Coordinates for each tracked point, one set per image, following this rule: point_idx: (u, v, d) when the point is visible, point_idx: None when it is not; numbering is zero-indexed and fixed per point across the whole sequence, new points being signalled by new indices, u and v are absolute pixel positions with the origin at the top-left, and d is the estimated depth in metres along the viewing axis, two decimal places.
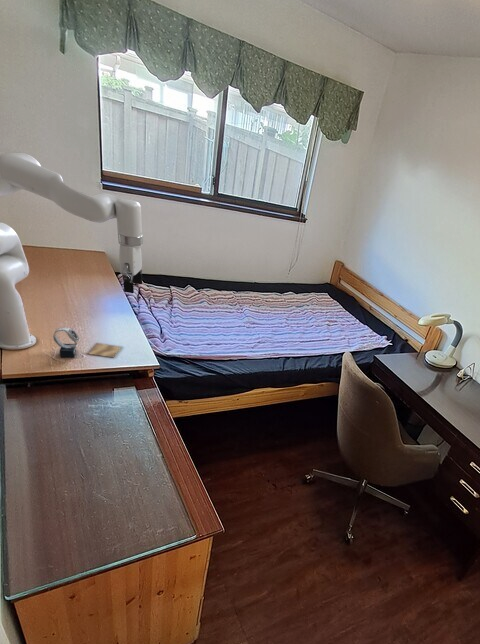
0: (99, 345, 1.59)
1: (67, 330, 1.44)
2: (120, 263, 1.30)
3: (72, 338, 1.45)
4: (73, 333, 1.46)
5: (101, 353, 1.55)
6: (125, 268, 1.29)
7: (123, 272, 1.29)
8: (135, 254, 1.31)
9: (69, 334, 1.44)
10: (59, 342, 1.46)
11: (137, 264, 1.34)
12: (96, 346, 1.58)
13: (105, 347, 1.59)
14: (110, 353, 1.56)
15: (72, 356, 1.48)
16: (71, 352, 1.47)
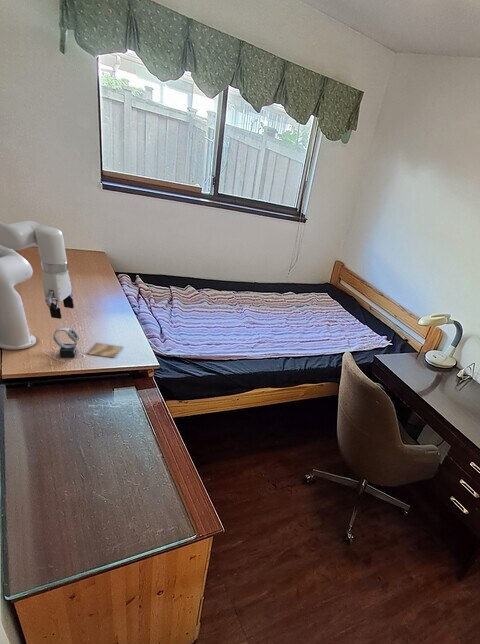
0: (99, 345, 1.59)
1: (67, 330, 1.44)
2: (44, 290, 1.30)
3: (72, 338, 1.45)
4: (73, 333, 1.46)
5: (101, 353, 1.55)
6: (49, 295, 1.30)
7: (46, 299, 1.29)
8: (60, 281, 1.31)
9: (69, 334, 1.44)
10: (59, 342, 1.46)
11: (63, 290, 1.34)
12: (96, 346, 1.58)
13: (105, 347, 1.59)
14: (110, 353, 1.56)
15: (72, 356, 1.48)
16: (71, 352, 1.47)
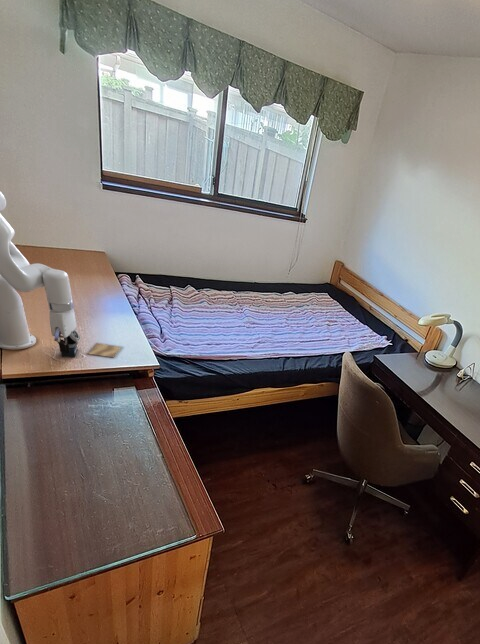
0: (99, 345, 1.59)
1: None
2: (51, 327, 1.38)
3: (73, 338, 1.45)
4: (74, 333, 1.47)
5: (101, 353, 1.55)
6: (57, 335, 1.39)
7: (55, 339, 1.39)
8: (65, 319, 1.39)
9: (70, 334, 1.44)
10: None
11: (69, 326, 1.42)
12: (96, 346, 1.58)
13: (105, 347, 1.59)
14: (110, 353, 1.56)
15: (73, 355, 1.49)
16: (72, 351, 1.48)
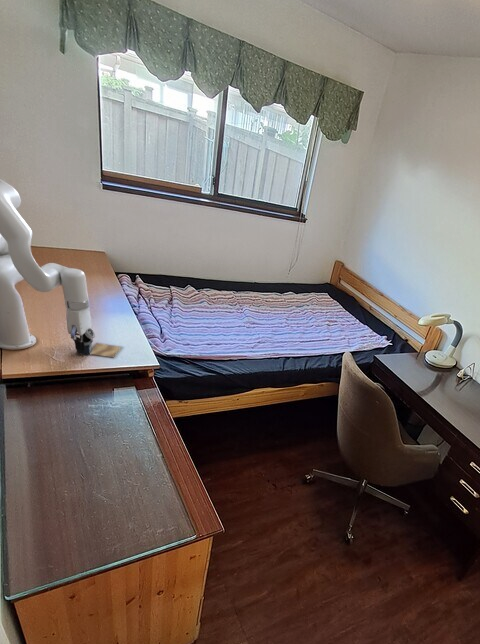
0: (99, 345, 1.59)
1: None
2: (67, 325, 1.41)
3: (88, 336, 1.48)
4: (89, 331, 1.49)
5: (101, 353, 1.55)
6: (73, 332, 1.41)
7: (72, 337, 1.41)
8: (82, 317, 1.42)
9: (85, 332, 1.47)
10: None
11: (85, 324, 1.45)
12: (96, 346, 1.58)
13: (105, 347, 1.59)
14: (110, 353, 1.56)
15: (88, 353, 1.52)
16: (87, 349, 1.51)
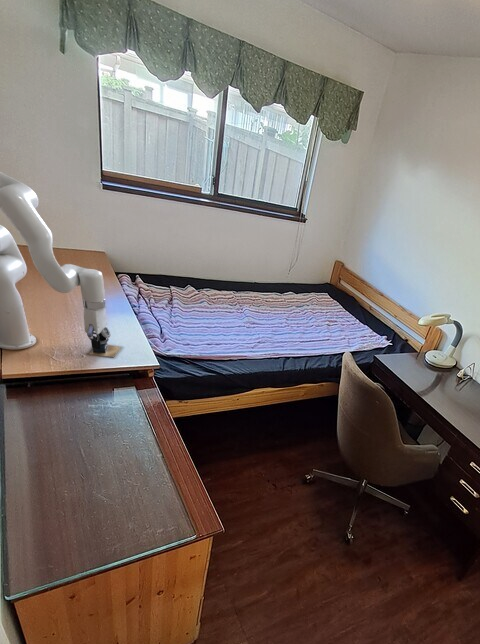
0: None
1: None
2: (85, 324, 1.44)
3: (104, 335, 1.51)
4: (105, 330, 1.53)
5: (101, 353, 1.55)
6: (90, 331, 1.45)
7: (89, 336, 1.45)
8: (99, 316, 1.45)
9: (101, 331, 1.50)
10: None
11: (101, 324, 1.48)
12: None
13: None
14: (110, 353, 1.56)
15: (103, 351, 1.55)
16: (103, 348, 1.54)
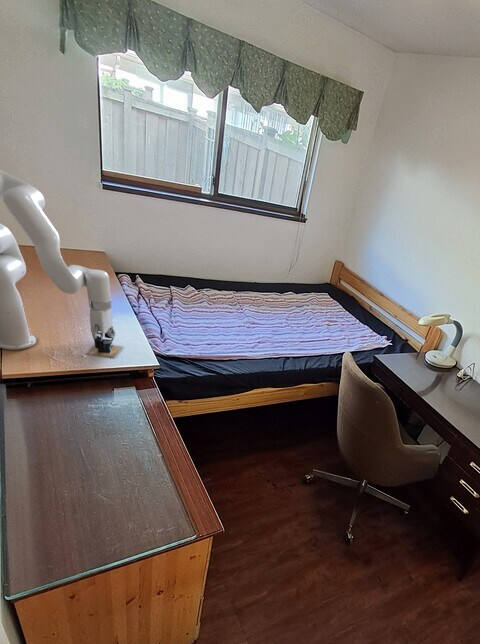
0: None
1: None
2: (91, 324, 1.45)
3: (109, 334, 1.52)
4: (110, 329, 1.54)
5: (101, 353, 1.55)
6: (95, 329, 1.45)
7: (93, 333, 1.44)
8: (104, 316, 1.46)
9: None
10: None
11: (107, 324, 1.49)
12: None
13: None
14: (110, 353, 1.56)
15: (108, 351, 1.56)
16: (108, 347, 1.55)
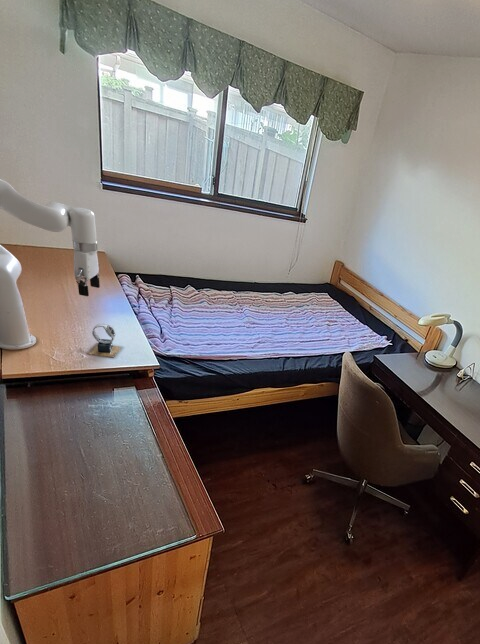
0: None
1: (105, 326, 1.52)
2: (74, 267, 1.37)
3: (109, 334, 1.52)
4: (110, 329, 1.54)
5: (101, 353, 1.55)
6: (79, 272, 1.36)
7: (76, 276, 1.35)
8: (89, 260, 1.38)
9: (107, 330, 1.51)
10: (97, 337, 1.54)
11: (92, 269, 1.41)
12: (96, 346, 1.58)
13: None
14: (110, 353, 1.56)
15: (108, 351, 1.56)
16: (108, 347, 1.55)
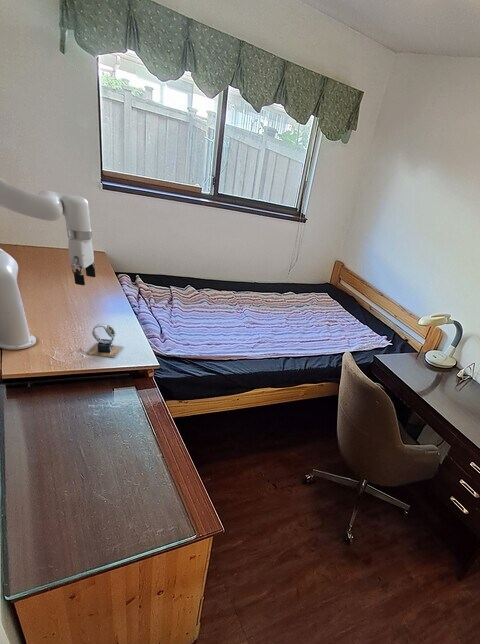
0: None
1: (105, 326, 1.52)
2: (70, 256, 1.37)
3: (109, 334, 1.52)
4: (110, 329, 1.54)
5: (101, 353, 1.55)
6: (74, 261, 1.36)
7: (72, 265, 1.35)
8: (84, 248, 1.38)
9: (107, 330, 1.51)
10: (97, 337, 1.54)
11: (87, 258, 1.41)
12: (96, 346, 1.58)
13: None
14: (110, 353, 1.56)
15: (108, 351, 1.56)
16: (108, 347, 1.55)
